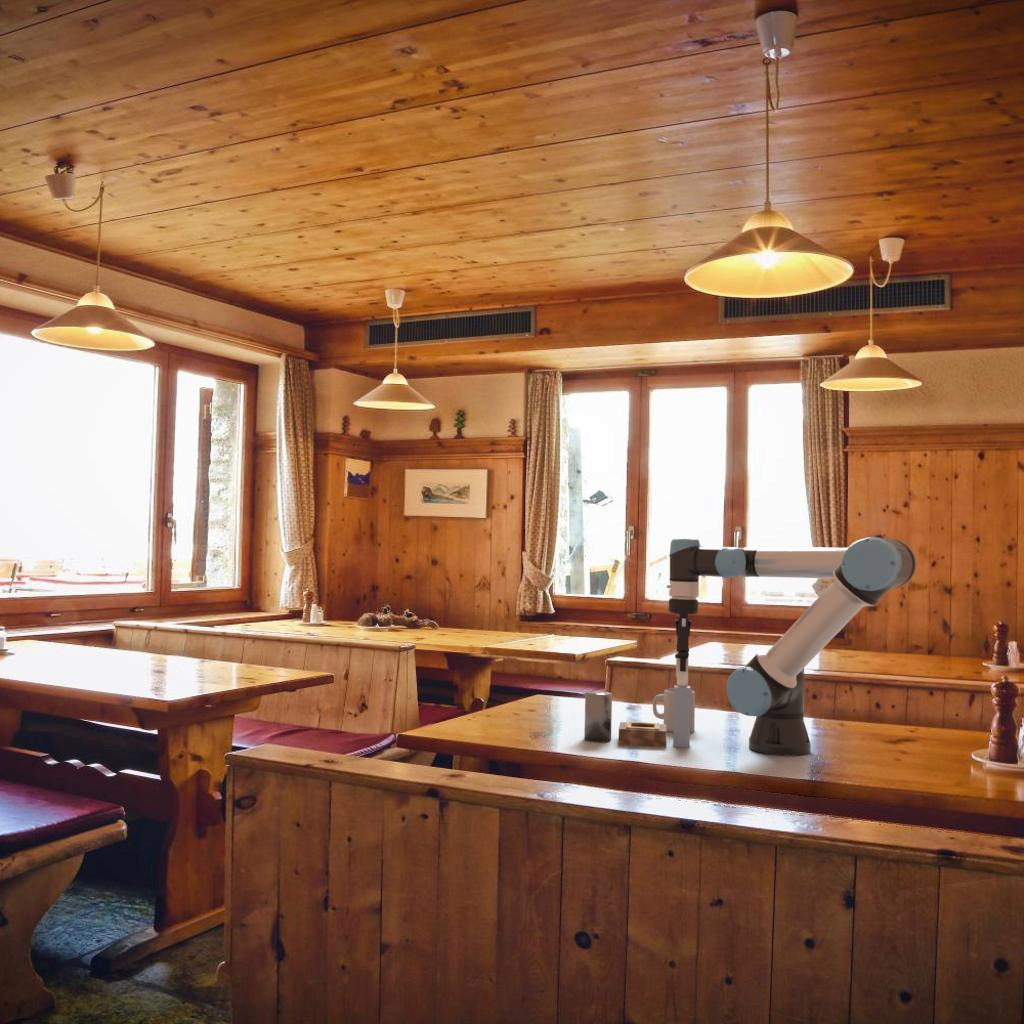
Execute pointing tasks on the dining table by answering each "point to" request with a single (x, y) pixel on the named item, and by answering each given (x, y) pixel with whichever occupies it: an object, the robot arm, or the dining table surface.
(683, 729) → the square bit
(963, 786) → the dining table surface
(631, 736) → the socket block
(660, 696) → the mug
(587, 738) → the grey storage canister
